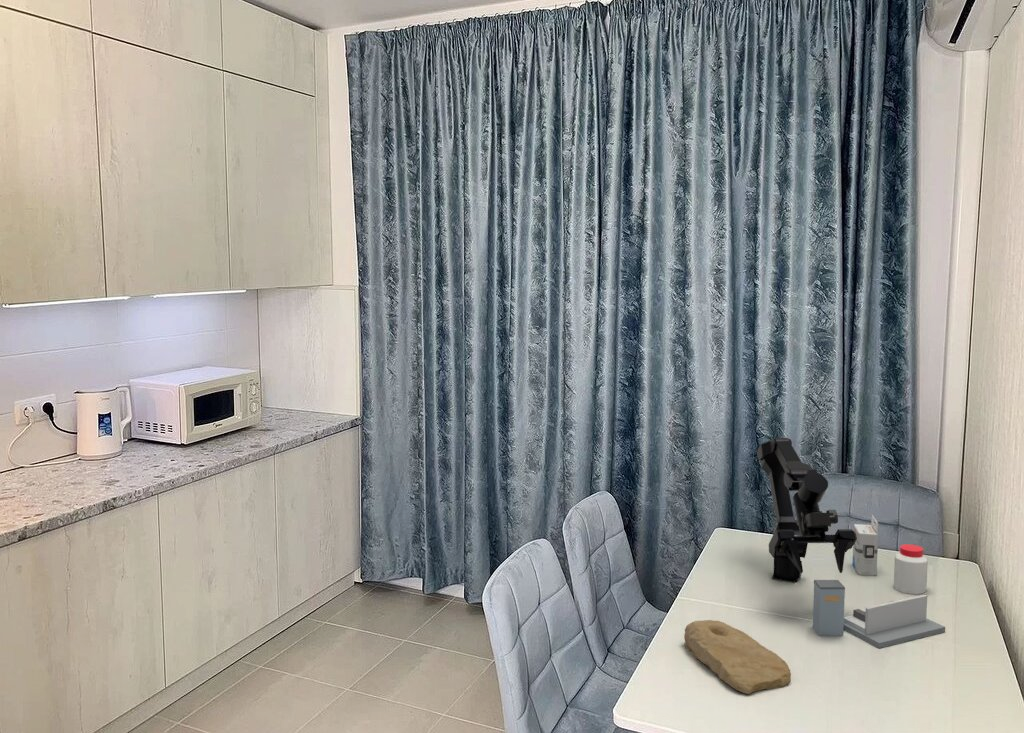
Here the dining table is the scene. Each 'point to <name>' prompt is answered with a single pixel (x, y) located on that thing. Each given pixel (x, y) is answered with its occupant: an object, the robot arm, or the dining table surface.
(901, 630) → the grey holder stand
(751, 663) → the stone
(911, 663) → the dining table surface
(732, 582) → the dining table surface
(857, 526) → the ink box
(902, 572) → the pill bottle
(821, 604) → the block
